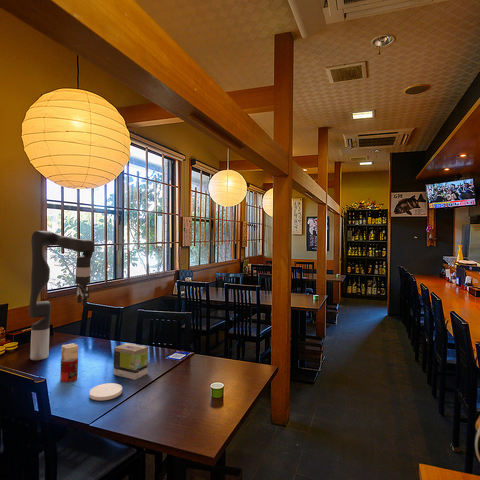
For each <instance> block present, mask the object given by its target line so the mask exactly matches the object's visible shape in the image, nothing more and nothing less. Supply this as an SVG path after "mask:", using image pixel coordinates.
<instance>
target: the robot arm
mask: <svg viewBox="0 0 480 480" xmlns="http://www.w3.org/2000/svg"><path fill="white" fill-rule="evenodd" d="M50 246H51V247H53V246H55V247H56V246H58V247H60V248H62V249H66V250H71V251H73V252H76V253H82V255H80V256H78V257H77V258H76V265H75V267H76V268H75V281H74V282H75V295H76V298H77V299H76V303H77V304H82V306H83V307H85V306H87V305H88V299H90V287H89V286H88V285H89V284H91V259H92V256H93V254H94V250H95V243H94V241H93V240H91V239H81V238H80V239H79V238H77V237H73V236H64V235H60V234H57V233H55V232H52V231H50V230H35V231H34V232H32V234H31V275H30V278H31V279H30V299H29V304H28V307H29V308H28V315H29V317H30V318H31V319H36V318H37V319H38V318H41V319H40V320H38V321H36V322H34V323H32V324H31V326H30V327H31V330H30V331H31V332H30V333H31V334H30V355H29V359H30V360H32V361H40V360H45V359H47V358H49V351H50V349H49V348H50V324H51V312H52V303H51V302H50V301H49V300H44V301H43V300H42V301H41V300H40V301H38V298H39V295H40V294H41V292H42V291H43V289H44V288H45V287H46V286H47V284H48V283H49V282H50V278H51V277H50V276H51V275H50V274H51V271H50V266H49V264H48V262H47V260H46V259H45V256H44V254H43V247H50Z"/></svg>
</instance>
